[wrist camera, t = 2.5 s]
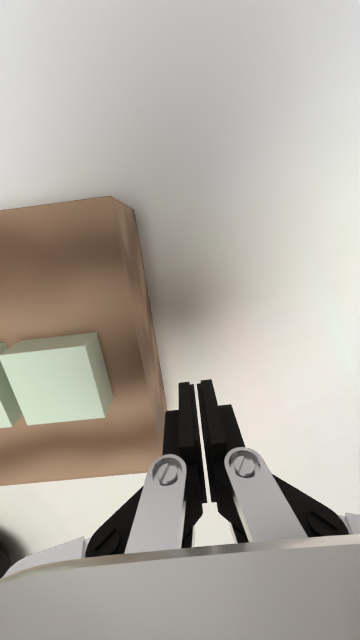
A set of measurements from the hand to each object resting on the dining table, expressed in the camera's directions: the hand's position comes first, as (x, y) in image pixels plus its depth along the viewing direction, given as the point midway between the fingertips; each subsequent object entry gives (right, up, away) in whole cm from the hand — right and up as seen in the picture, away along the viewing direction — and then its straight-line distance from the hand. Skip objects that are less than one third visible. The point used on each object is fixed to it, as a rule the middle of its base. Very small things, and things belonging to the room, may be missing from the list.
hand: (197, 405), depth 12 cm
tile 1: (-8, +1, +4) cm, 9 cm away
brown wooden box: (-11, +3, +11) cm, 16 cm away
